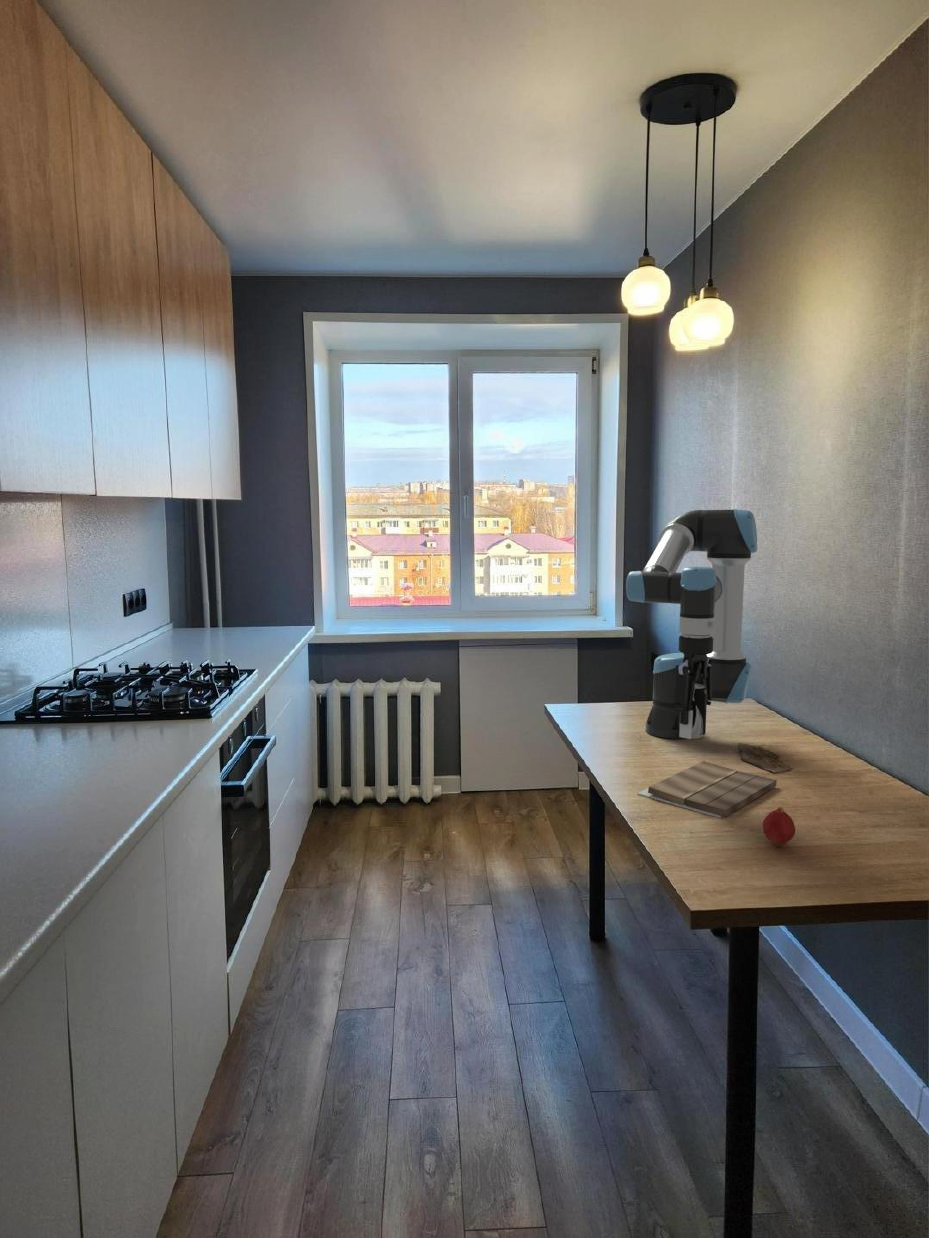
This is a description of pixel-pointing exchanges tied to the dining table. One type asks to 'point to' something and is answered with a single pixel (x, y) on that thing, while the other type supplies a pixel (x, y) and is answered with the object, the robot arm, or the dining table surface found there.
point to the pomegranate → (778, 827)
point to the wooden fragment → (762, 758)
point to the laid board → (731, 793)
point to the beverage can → (699, 711)
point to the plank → (690, 782)
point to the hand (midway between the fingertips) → (692, 734)
